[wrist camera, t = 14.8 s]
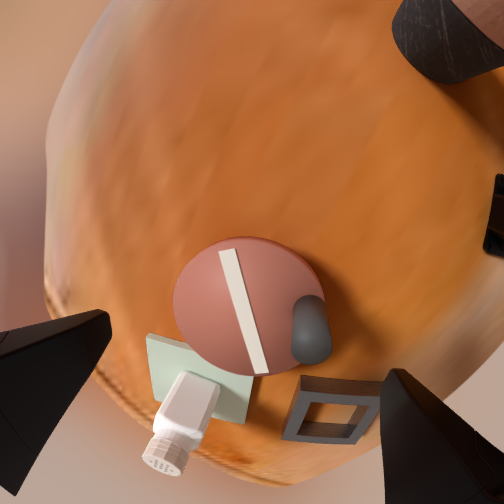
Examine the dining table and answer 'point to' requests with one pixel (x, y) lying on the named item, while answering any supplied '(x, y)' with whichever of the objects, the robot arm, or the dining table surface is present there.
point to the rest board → (186, 359)
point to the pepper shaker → (181, 423)
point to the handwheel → (252, 308)
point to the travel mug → (451, 37)
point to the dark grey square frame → (332, 393)
